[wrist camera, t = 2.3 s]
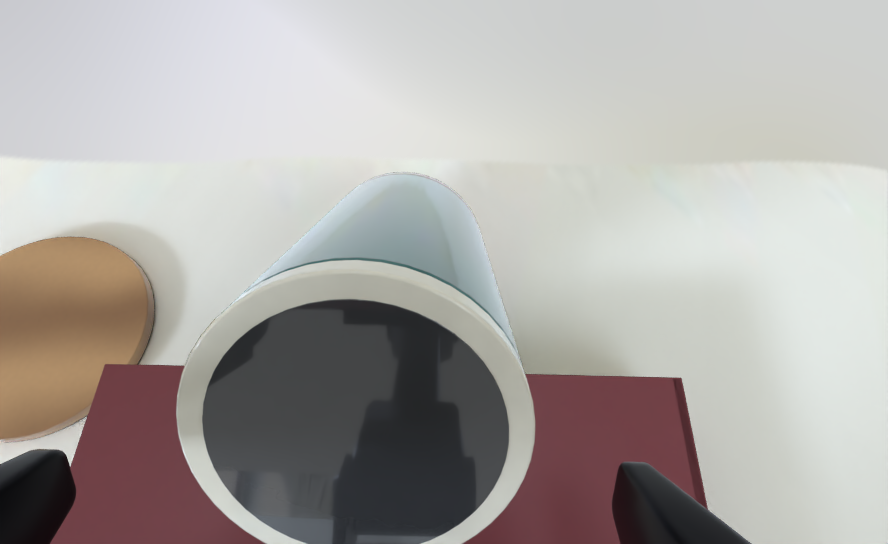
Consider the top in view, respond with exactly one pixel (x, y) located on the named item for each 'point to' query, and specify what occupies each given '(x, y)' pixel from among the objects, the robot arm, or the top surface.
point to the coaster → (65, 329)
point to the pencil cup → (364, 381)
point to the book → (505, 540)
